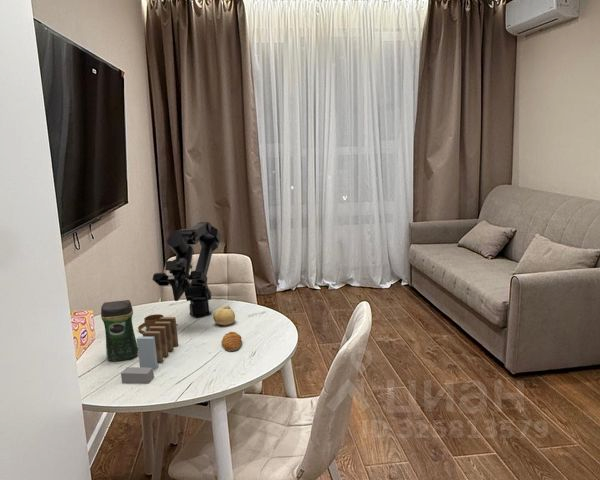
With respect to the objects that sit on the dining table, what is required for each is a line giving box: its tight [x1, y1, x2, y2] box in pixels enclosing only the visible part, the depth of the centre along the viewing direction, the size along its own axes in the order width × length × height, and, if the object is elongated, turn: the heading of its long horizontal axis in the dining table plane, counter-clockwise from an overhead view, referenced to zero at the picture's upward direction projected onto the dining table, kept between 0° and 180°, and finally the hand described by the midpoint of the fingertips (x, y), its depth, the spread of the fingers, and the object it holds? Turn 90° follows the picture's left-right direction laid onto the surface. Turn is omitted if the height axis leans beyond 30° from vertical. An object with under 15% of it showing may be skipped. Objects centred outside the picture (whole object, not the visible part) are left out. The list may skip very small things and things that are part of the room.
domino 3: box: [148, 326, 169, 359], centre depth 170 cm, size 2×5×10 cm, turn 82°
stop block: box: [120, 366, 155, 384], centre depth 155 cm, size 4×8×3 cm, turn 82°
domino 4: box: [159, 316, 179, 348], centre depth 178 cm, size 2×5×10 cm, turn 82°
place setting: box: [137, 313, 179, 334], centre depth 199 cm, size 18×20×6 cm
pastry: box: [221, 331, 243, 352], centre depth 176 cm, size 9×7×4 cm
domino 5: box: [154, 322, 174, 353], centre depth 174 cm, size 2×5×10 cm, turn 82°
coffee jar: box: [100, 299, 138, 362], centre depth 171 cm, size 10×8×19 cm
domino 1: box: [136, 336, 159, 371], centre depth 162 cm, size 2×5×10 cm, turn 82°
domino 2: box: [142, 330, 164, 364], centre depth 166 cm, size 2×5×10 cm, turn 81°
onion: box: [212, 304, 236, 327], centre depth 197 cm, size 8×8×7 cm
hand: (175, 300), depth 185 cm, fingers closed
